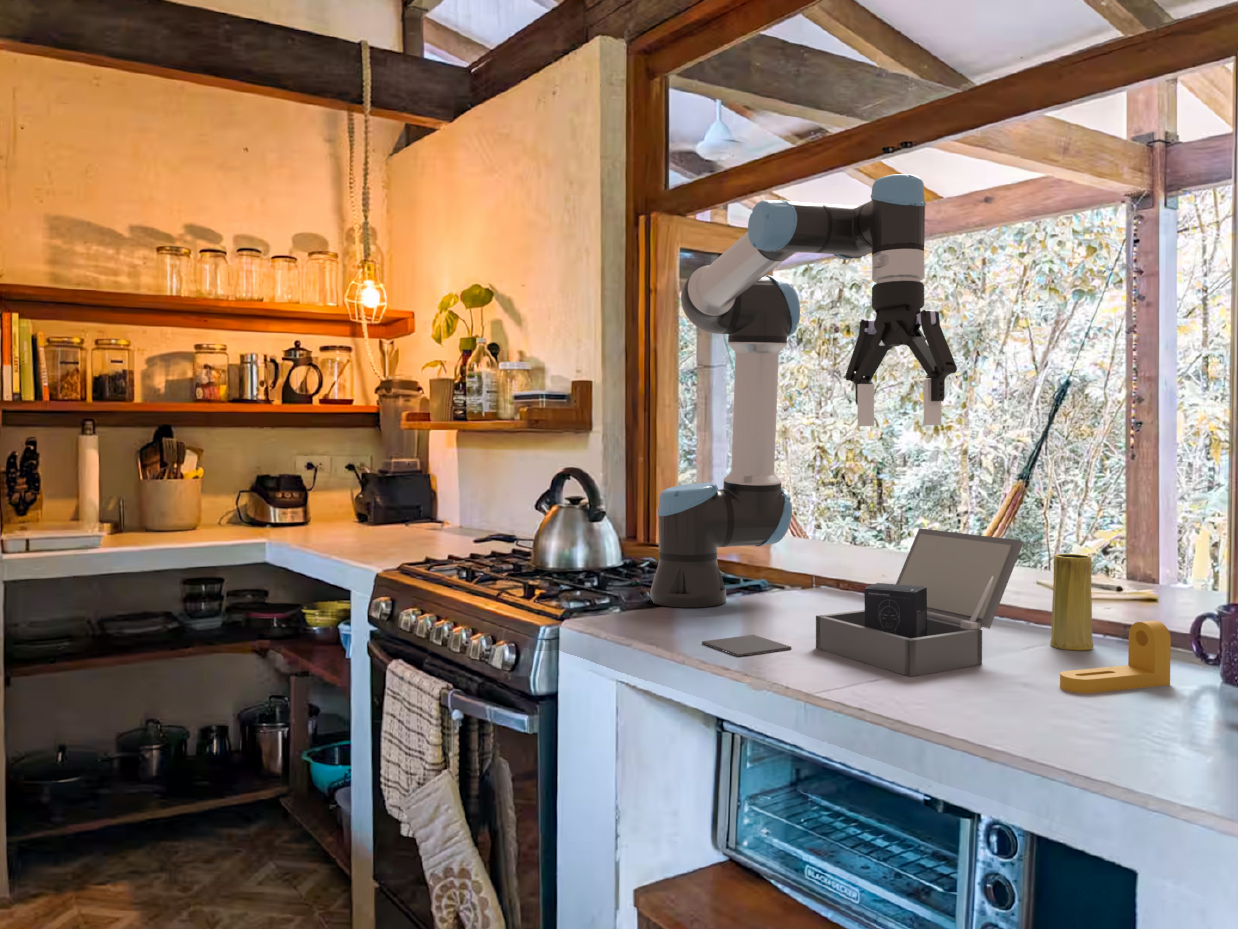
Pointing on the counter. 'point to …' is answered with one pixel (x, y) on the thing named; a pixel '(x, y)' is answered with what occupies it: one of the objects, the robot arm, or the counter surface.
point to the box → (896, 609)
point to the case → (933, 606)
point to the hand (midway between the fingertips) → (897, 425)
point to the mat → (746, 645)
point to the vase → (1072, 603)
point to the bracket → (1129, 664)
